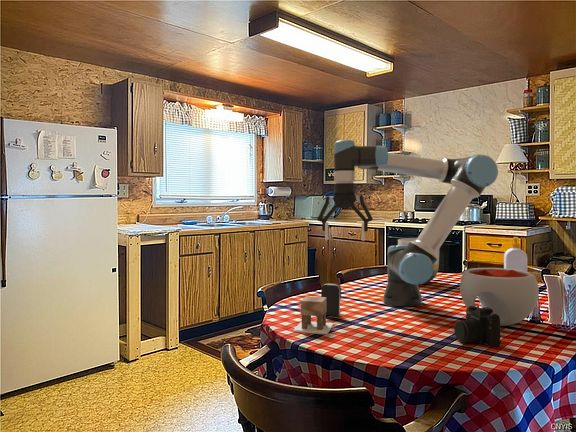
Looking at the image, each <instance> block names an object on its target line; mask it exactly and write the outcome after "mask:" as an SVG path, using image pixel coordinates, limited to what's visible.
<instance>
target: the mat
mask: <svg viewBox="0 0 576 432" xmlns="http://www.w3.org/2000/svg"><path fill="white" fill-rule="evenodd" d="M334 324H335V323H334V322H326V325H325V326H323V329H322V330H317V321H311V324H310V325H308V328H307V329H302V320H301V321H300V322H299V323H298V324H297V326H295V328H294V329H293V330H292V332H293V333H305V334H319V335H328V334H329V332H330V331H331V329H332V328H333V326H334Z"/></svg>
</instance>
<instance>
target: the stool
mask: <svg viewBox="0 0 576 432" xmlns="http://www.w3.org/2000/svg"><path fill="white" fill-rule="evenodd" d="M326 311H327V299H326V297H321V296H306V295H305V296H304V297H303V298H302V299H301V300H300V315H301V321H302V329H307V328H308V325H310V324H311V322H312V317H313V316H316V322H317V330H322V329H323V326H325V325H326V323H327V315H326Z"/></svg>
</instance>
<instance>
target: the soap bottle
mask: <svg viewBox="0 0 576 432" xmlns="http://www.w3.org/2000/svg"><path fill="white" fill-rule="evenodd" d="M512 239H513V243H511V248H509V249H507V250H506V251H504V254H503V269H514V270H521V271H526V272H528V254H527V253H526V252H525V251H524V250H522V249H521V244H520V243H518V240H519V239H520V238H519V237H518V236H513V238H512Z"/></svg>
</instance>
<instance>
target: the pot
mask: <svg viewBox="0 0 576 432" xmlns="http://www.w3.org/2000/svg"><path fill="white" fill-rule="evenodd" d="M539 291H540V290H539V284H538V280H537V278H536V276H535V274H533V273H532V272H529V271H527V272H526V271H521V270H514V269H504V267H503V268H502V267H501V268H500V267H477V268H475V267H474V268H467V269H465V270H464V271H463V272H462V275H461V277H460V282H459V292H460V296H461V299H462V301H463V304H464V305H465V307H466V309H467V308H468V307H469V306H476V304H475V303H476V300H477V299H478V300H479V303H480V308H483V307H489V308H491V309H492V310H493V313H497V315H499V318H500V327H503V326H504V327H505V326H511V325H515V324H518V323H520V322H522V321H523V320H525V319H527V318H528V317H529V316H530V315H531V313H533V311H534V309H535V308H536V305H537V304H538V300H539V297H540V296H539V294H540V293H539Z"/></svg>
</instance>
